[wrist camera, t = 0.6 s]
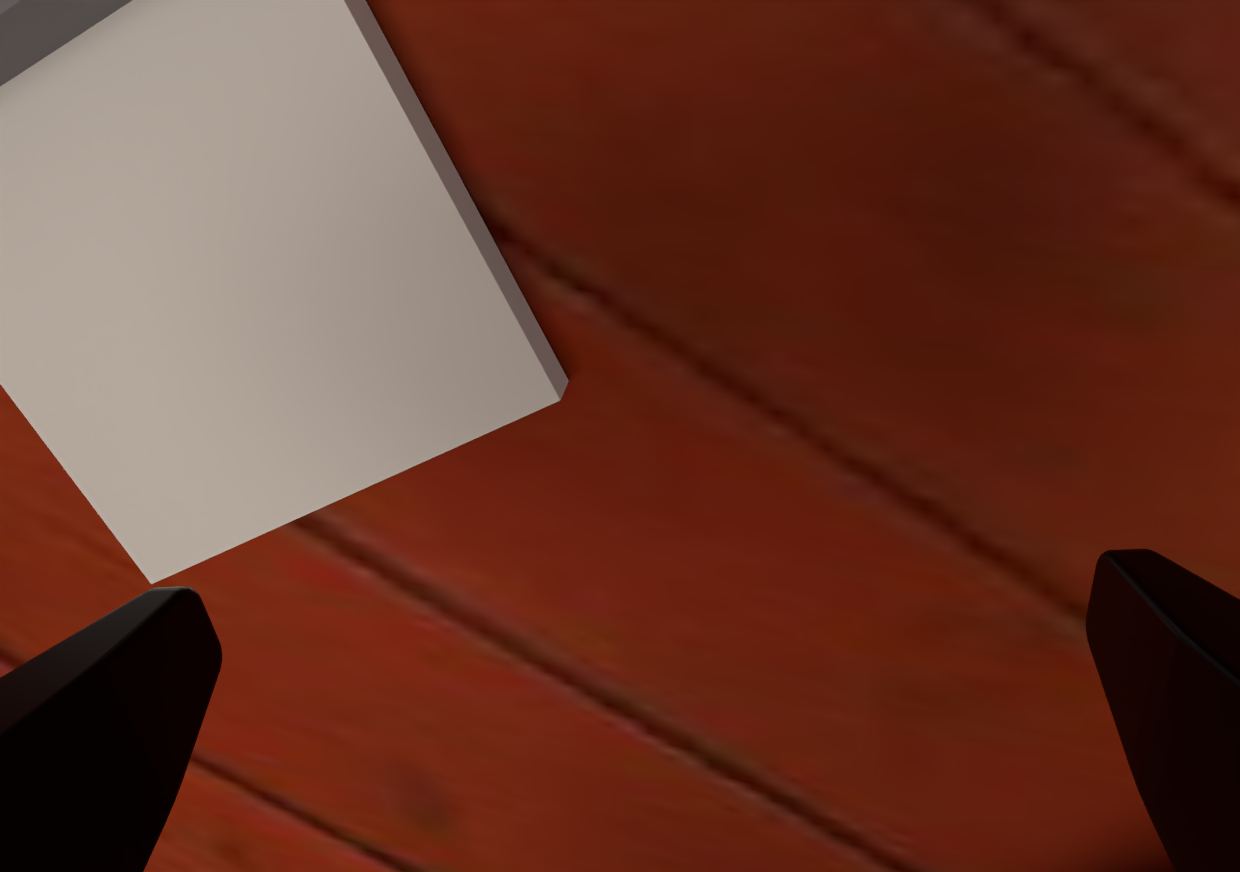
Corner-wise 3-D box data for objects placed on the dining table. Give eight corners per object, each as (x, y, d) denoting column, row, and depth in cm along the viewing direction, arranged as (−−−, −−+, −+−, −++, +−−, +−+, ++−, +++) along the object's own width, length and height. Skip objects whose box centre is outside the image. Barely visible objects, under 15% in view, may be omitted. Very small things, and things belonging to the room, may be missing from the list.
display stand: (568, 380, 24) (540, 447, 19) (180, 557, 27) (83, 647, 22) (292, -137, 20) (181, -193, 15) (-126, 140, 23) (-313, 156, 19)
